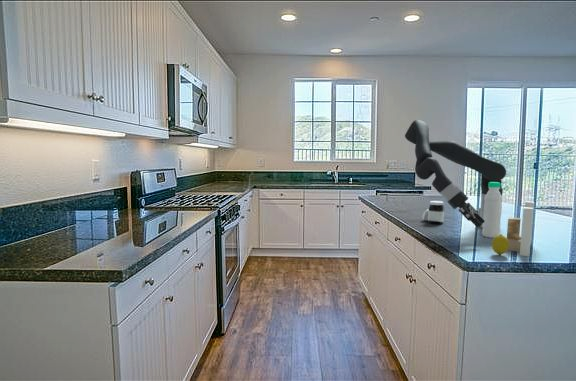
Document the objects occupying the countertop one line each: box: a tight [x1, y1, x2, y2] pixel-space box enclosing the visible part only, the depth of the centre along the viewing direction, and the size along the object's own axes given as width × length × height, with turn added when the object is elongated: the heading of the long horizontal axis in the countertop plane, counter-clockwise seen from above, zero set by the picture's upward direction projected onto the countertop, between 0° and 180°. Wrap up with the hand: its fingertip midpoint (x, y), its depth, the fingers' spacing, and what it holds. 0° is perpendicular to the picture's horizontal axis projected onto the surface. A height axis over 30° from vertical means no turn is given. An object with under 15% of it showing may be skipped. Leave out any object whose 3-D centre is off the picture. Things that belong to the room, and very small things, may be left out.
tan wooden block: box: [506, 216, 522, 240], centre depth 144 cm, size 5×4×12 cm
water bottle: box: [481, 182, 503, 239], centre depth 161 cm, size 7×7×25 cm
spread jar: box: [421, 200, 445, 225], centre depth 194 cm, size 12×11×12 cm
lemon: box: [491, 233, 509, 256], centre depth 133 cm, size 6×6×8 cm
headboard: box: [508, 200, 535, 257], centre depth 142 cm, size 8×22×18 cm, turn 144°
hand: (481, 224), depth 150 cm, fingers open, 8 cm apart
